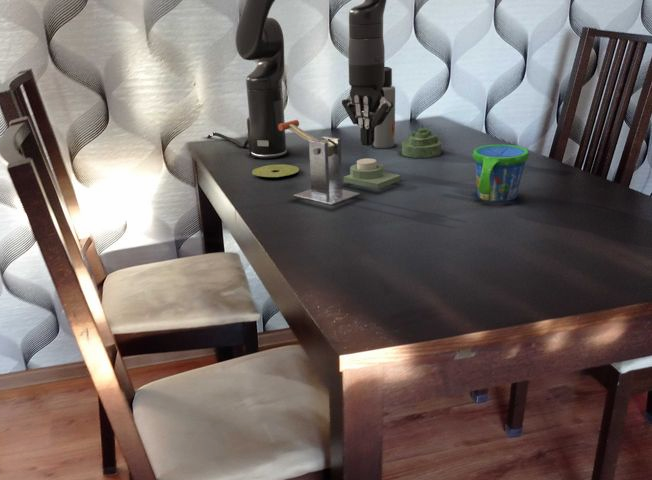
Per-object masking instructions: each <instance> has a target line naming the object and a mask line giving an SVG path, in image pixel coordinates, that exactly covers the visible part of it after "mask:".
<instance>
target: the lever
mask: <svg viewBox="0 0 652 480" xmlns="http://www.w3.org/2000/svg"><path fill="white" fill-rule="evenodd" d="M299 126H300V121H299V120H298V119H293V120H289V121H285V123H282V124H279V125H278V129H279V130H280V131H283V130H285V131H287V130H289V131H290V132H292V133H294V134H295V135H297V136H298V137H301V138H302V139H303V140H305V141H306V142H308V143H309V141H310V140H316V141H322V142H328V157H329V156H332V155H333V151H334V146H335V145H334V144H332V143H331V142H329V141H327V140H326V139H324V140H322V139H321V140H320V139H318V138H316V137H314V136H313V135H311V134H309V132H306V131H305V130H303V129H302V128H300V127H299Z"/></svg>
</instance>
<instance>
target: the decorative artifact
mask: <svg viewBox="0 0 652 480" xmlns="http://www.w3.org/2000/svg"><path fill="white" fill-rule="evenodd" d="M441 154H442V141H440V140H439V135H438V134H436V133H434V134H432V130H429V129H428V128H424V125H423V124H421V125H420V127H419V128H417V131H415V130H413V131H412V132H411V133H409V134H408V138H407V140H403V141H402V142H401V155H402V156H404V157H408V158H414V159H427V158H434V157H438V156H440V155H441Z"/></svg>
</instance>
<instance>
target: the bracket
mask: <svg viewBox="0 0 652 480" xmlns="http://www.w3.org/2000/svg"><path fill="white" fill-rule="evenodd" d="M324 139H326V140H327V141H329V142H331V143H332V144H334V145H335V146H334V151H333V155H332V156H329V157H328V142H322V141H321V140H324ZM321 140H319V141H316V140H310V141H309V142H308V149H309V152H308V153H309V170H310V171H309V172H310V173H309V174H310V189H307V190H304V191H301V192H299V193H296V194H294V195H293V197H294V198H298V199H302V200H304V201H305V200H306V201H310V202H313V203H318V204H324V205H327V206H331V207H332V206H335V205H338V204H341V203H343V202H346V201H348V200H351V199H354V198H356V197H359V196H361V193H360V192H356V191H352V190H347V189H343V169H342V167H343V165H342V164H343V163H342V138H339V137H333V136H327V135H324V136H322V137H321Z"/></svg>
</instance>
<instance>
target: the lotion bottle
mask: <svg viewBox="0 0 652 480" xmlns="http://www.w3.org/2000/svg"><path fill="white" fill-rule="evenodd" d="M383 91H384V94H385V96H384V98H385V99H386V100H387V101H388V102H392V103H393V107H392V109H391V110H390V112H389V114H388V115H387V117H386V118H385V120H384V121H383V123H382V124H381V125H378V126H376V127H375V129H374V134H375V135H374V136H375V137H374V138H375V140H374V143H373V147H374V148H376V149H390V148H393V147H395V142H396V141H395V138H396V133H395V132H396V86H394V85H393V68H391V67H390V66H385V81H384V84H383ZM378 111H379V107H378Z"/></svg>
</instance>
